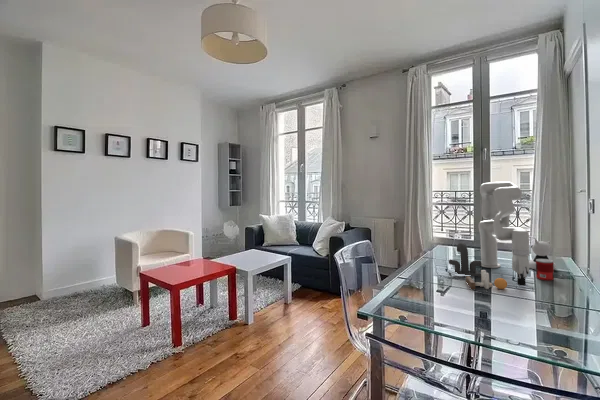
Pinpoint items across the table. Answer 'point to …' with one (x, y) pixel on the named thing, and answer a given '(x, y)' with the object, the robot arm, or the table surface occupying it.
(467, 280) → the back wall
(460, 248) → the faucet
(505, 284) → the ball
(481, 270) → the pin
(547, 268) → the canned food
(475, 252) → the table surface
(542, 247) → the decorative figurine
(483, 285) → the front pin
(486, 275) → the pin
